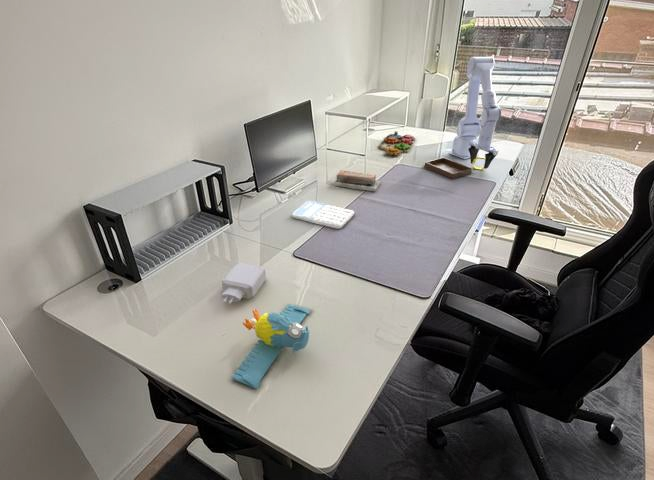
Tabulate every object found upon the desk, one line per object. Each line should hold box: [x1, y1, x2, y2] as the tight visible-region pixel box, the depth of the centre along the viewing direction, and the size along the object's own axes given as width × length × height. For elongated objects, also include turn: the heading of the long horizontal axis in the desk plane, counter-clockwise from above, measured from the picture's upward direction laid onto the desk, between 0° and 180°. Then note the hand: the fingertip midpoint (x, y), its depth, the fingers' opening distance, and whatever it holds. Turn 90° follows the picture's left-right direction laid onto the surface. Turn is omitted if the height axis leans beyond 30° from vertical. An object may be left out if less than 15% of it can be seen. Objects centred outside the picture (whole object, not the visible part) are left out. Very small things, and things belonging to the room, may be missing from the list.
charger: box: [220, 262, 267, 304], centre depth 117 cm, size 5×9×15 cm
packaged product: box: [334, 170, 381, 193], centre depth 178 cm, size 18×5×10 cm
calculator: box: [291, 200, 355, 230], centre depth 155 cm, size 13×20×2 cm, turn 62°
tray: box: [424, 156, 473, 180], centre depth 192 cm, size 17×12×2 cm
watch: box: [472, 155, 485, 171], centre depth 192 cm, size 6×3×6 cm, turn 77°
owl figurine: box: [231, 303, 311, 390], centre depth 99 cm, size 28×9×15 cm
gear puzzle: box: [378, 130, 416, 156], centre depth 217 cm, size 31×16×4 cm, turn 160°
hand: (479, 165), depth 193 cm, fingers open, 7 cm apart
